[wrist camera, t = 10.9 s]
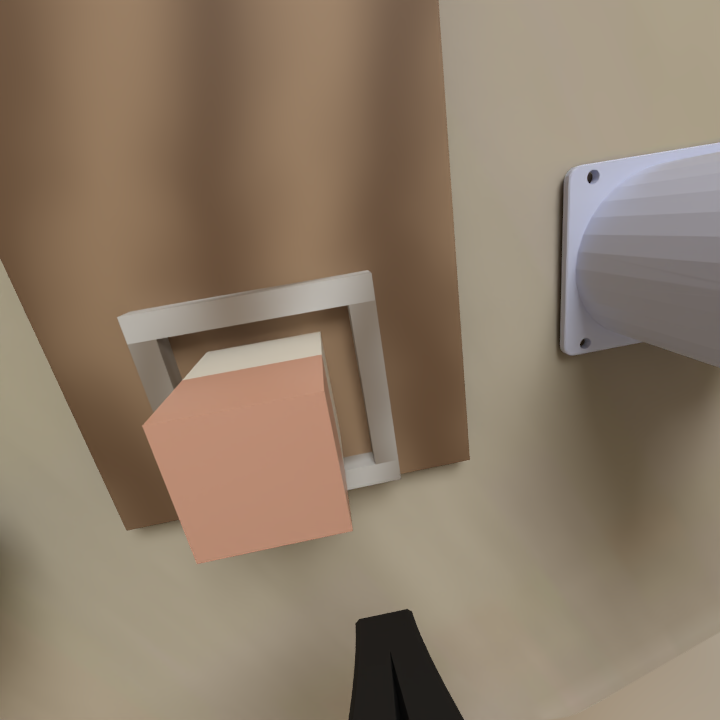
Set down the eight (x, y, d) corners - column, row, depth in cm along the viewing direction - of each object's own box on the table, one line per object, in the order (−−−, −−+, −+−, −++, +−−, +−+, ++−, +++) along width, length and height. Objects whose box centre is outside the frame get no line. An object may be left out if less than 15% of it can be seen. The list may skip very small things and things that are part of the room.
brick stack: (320, 331, 15) (324, 391, 10) (339, 429, 17) (352, 530, 11) (207, 351, 15) (142, 425, 9) (237, 449, 16) (197, 564, 11)
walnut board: (406, -257, 11) (427, -368, 9) (460, 446, 19) (478, 472, 17) (-178, -202, 10) (-303, -313, 8) (138, 511, 18) (115, 547, 16)
